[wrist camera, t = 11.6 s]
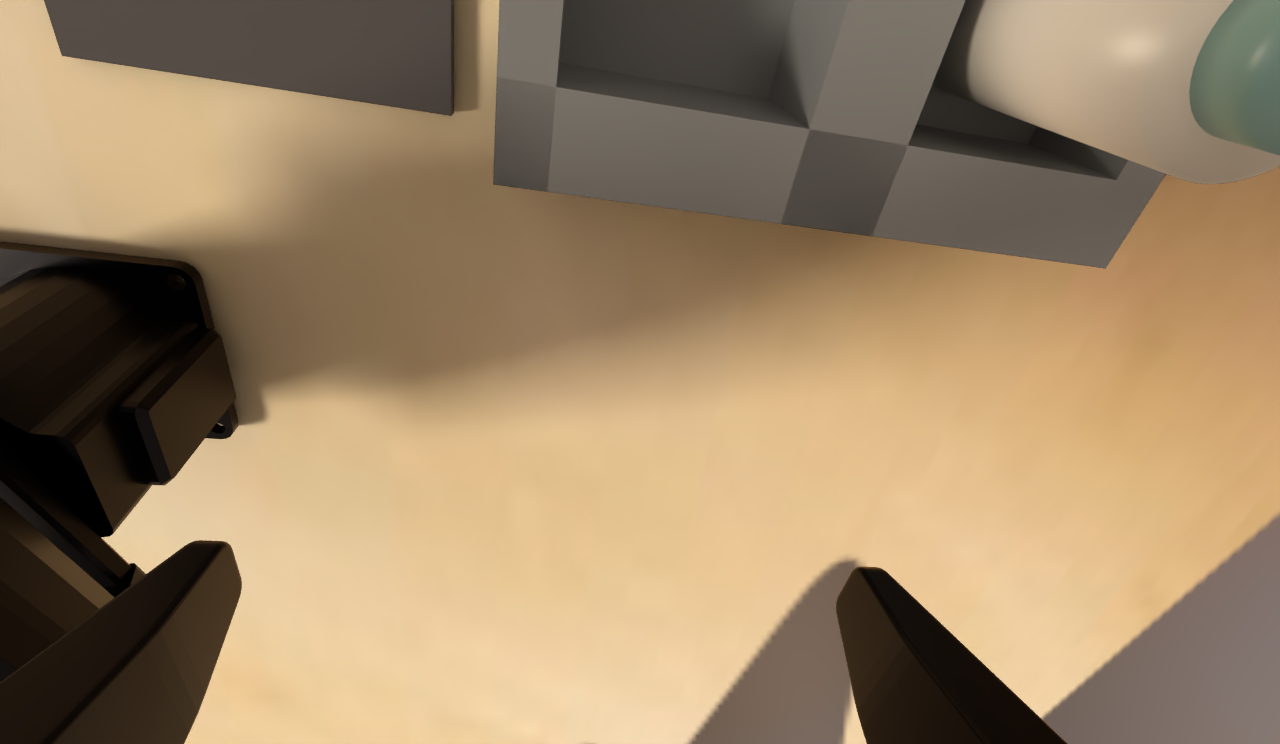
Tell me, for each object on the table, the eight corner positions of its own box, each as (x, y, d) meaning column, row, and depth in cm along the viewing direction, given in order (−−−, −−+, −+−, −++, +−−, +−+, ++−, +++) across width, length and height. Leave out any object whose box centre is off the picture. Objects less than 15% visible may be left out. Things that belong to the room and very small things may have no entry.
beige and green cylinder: (887, 79, 16) (1133, 178, 9) (958, -106, 14) (1361, -179, 7) (1017, 108, 17) (1348, 224, 9) (1105, -64, 15) (1622, -90, 7)
